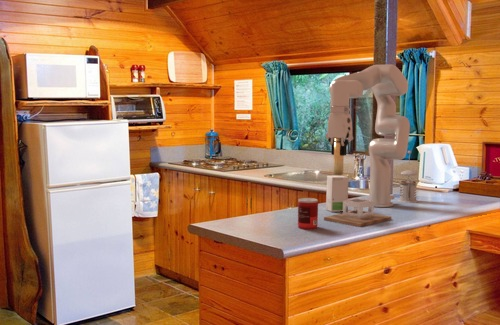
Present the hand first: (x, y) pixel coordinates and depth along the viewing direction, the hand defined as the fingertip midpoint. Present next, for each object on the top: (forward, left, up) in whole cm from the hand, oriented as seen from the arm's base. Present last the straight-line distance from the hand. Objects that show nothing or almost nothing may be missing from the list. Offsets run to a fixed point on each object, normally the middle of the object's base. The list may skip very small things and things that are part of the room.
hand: (338, 154), depth 249 cm
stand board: (-4, +8, -27) cm, 28 cm away
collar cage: (-4, +7, -26) cm, 27 cm away
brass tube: (0, 0, -8) cm, 8 cm away
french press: (-60, -4, -27) cm, 66 cm away
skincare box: (-14, -11, -27) cm, 33 cm away
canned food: (+23, +4, -27) cm, 36 cm away
